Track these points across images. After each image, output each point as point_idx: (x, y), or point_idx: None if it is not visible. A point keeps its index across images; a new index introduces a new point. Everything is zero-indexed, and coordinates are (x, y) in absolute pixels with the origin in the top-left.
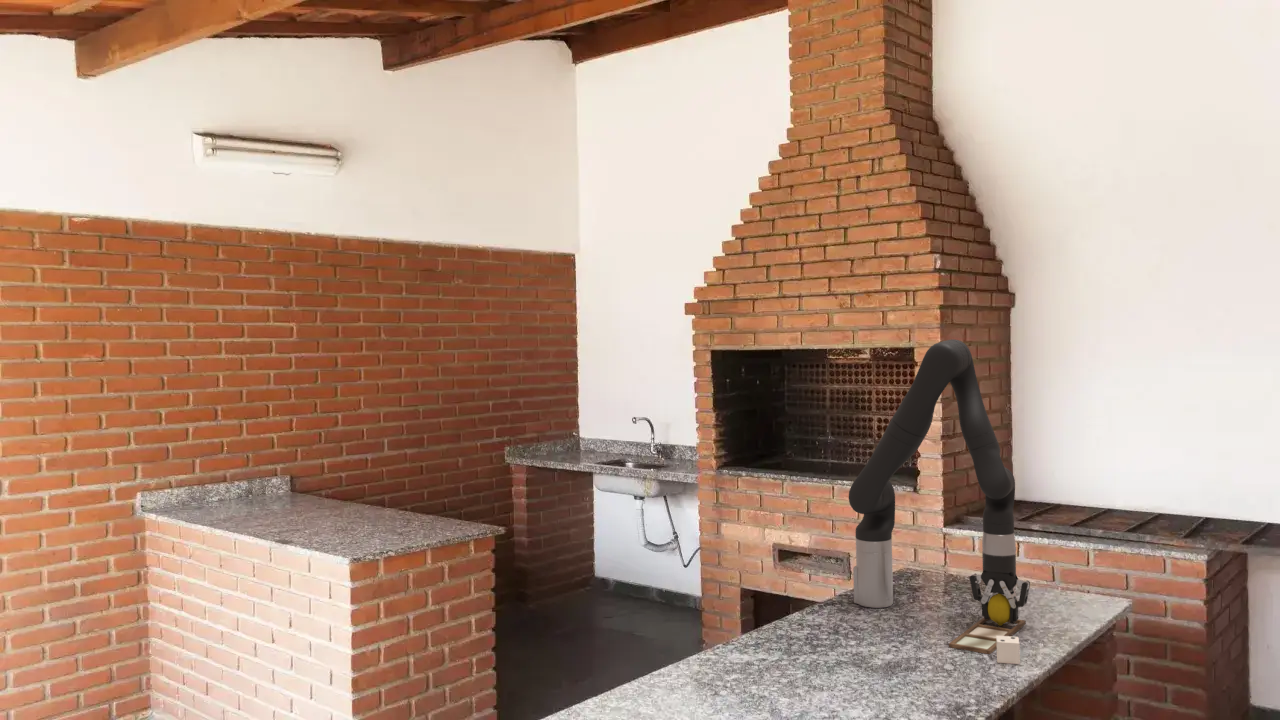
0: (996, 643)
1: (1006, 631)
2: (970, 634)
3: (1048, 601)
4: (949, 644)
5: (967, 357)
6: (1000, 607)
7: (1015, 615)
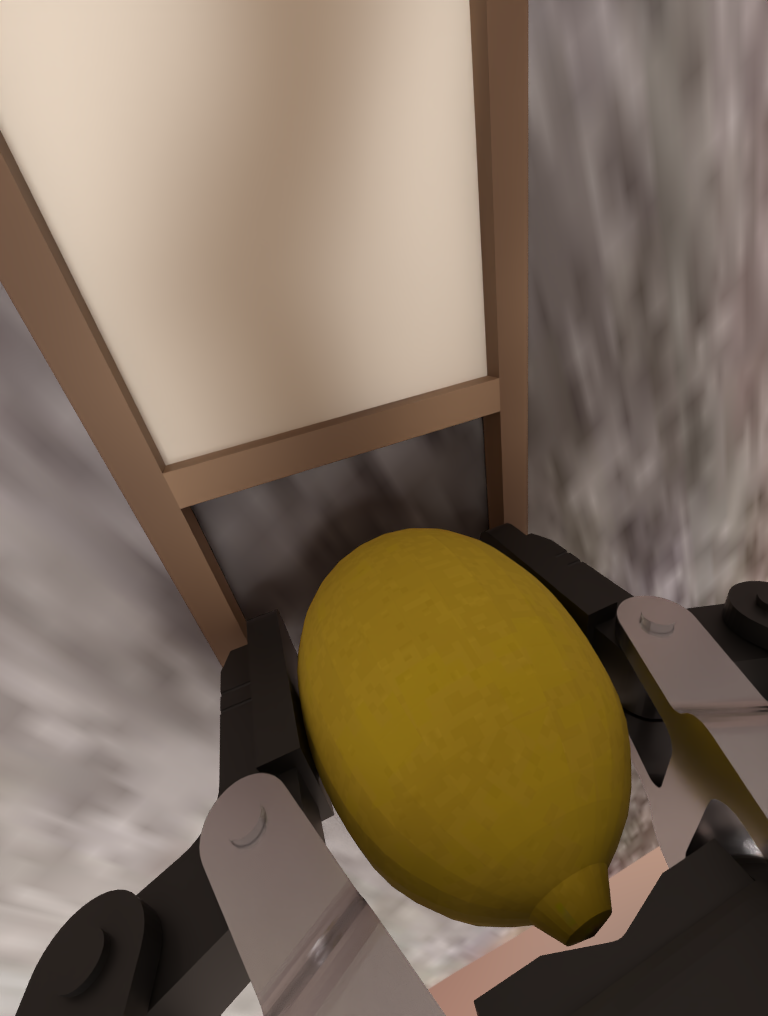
0: None
1: (209, 454)
2: None
3: (400, 937)
4: None
5: None
6: (397, 653)
7: (234, 704)
